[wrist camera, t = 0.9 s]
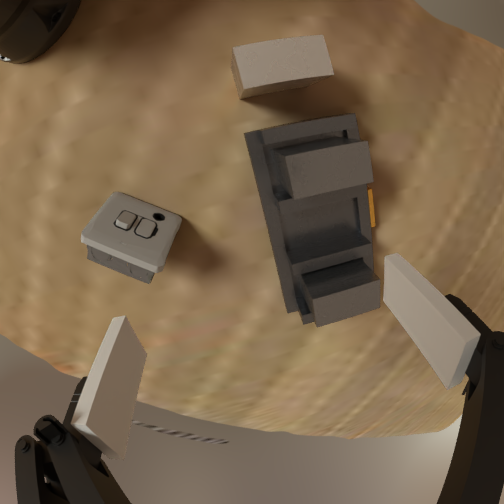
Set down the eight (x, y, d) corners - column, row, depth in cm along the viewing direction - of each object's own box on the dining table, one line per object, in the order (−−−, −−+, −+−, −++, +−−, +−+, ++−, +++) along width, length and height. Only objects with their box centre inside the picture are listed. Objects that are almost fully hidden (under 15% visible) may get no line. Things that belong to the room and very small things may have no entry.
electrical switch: (184, 216, 35) (168, 254, 27) (171, 250, 37) (154, 294, 29) (115, 189, 32) (81, 219, 24) (106, 224, 35) (74, 261, 26)
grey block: (231, 67, 28) (232, 47, 20) (299, 55, 28) (323, 34, 19) (239, 99, 30) (244, 89, 21) (307, 86, 29) (334, 74, 21)
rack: (243, 133, 31) (249, 135, 23) (353, 112, 31) (390, 111, 23) (285, 306, 41) (298, 348, 33) (373, 281, 41) (400, 315, 33)
